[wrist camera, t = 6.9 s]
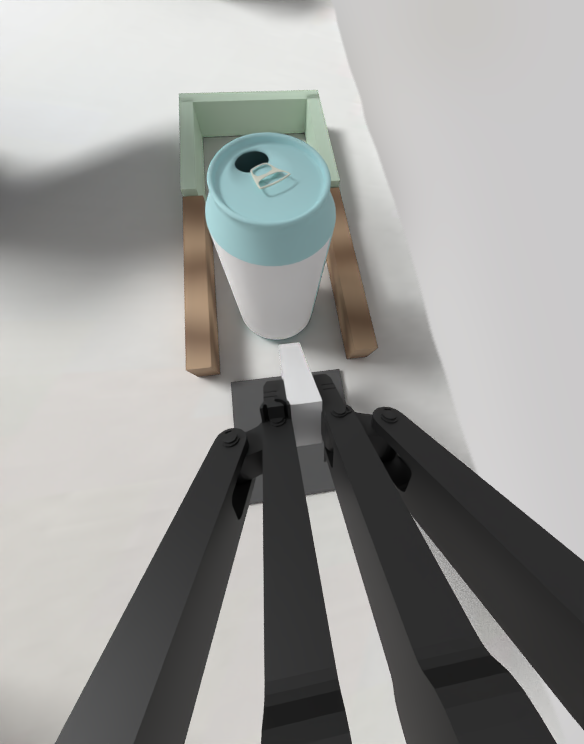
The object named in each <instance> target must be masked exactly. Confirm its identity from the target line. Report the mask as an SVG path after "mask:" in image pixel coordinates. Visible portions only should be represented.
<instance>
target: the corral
mask: <svg viewBox="0 0 584 744" xmlns="http://www.w3.org/2000/svg"><path fill="white" fill-rule="evenodd" d="M179 130H180V190H181V192H182V194H183V197H185V196H201V195H203V197H204V200H205V202H206V193H205V174H204V154H203V137H216V136H241V135H248V134H253V133H262V132H271V133H280V134H289V133H305V138H306V143H307V144H309V145H310V146H311V147H313V148H314V149H315V150H316V151H317V152H318V153H319V154H320V155H321V157H322V158H323V159H324V161H325V162H326V164H327V166H328V169H329V172H330V176H331V187H330V188H334V187H339V182H340V179H339V175H338V171H337V166H336V162H335V158H334V154H333V150H332V146H331V142H330V138H329V134H328V130H327V126H326V122H325V118H324V114H323V110H322V106H321V102H320V98H319V94H318V90H294V91H256V92H219V93H181V94H179Z"/></svg>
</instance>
